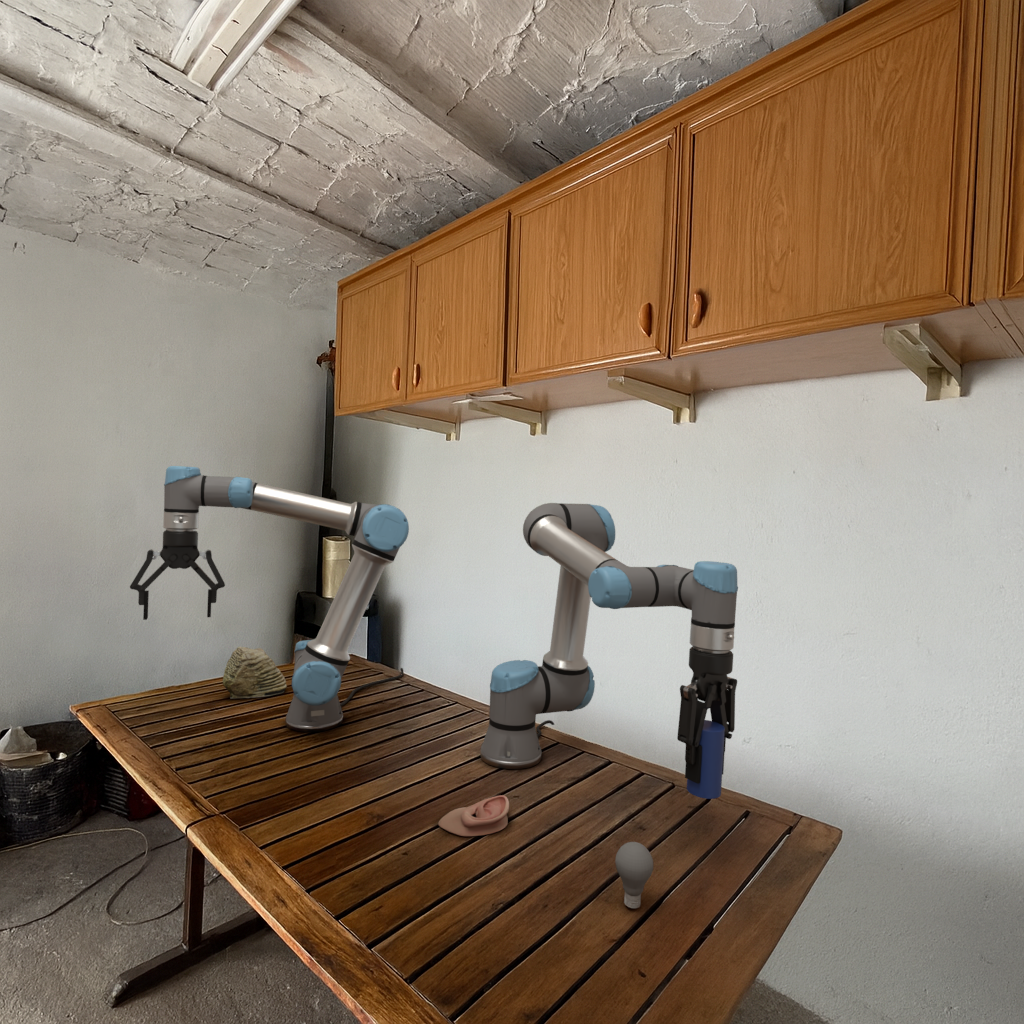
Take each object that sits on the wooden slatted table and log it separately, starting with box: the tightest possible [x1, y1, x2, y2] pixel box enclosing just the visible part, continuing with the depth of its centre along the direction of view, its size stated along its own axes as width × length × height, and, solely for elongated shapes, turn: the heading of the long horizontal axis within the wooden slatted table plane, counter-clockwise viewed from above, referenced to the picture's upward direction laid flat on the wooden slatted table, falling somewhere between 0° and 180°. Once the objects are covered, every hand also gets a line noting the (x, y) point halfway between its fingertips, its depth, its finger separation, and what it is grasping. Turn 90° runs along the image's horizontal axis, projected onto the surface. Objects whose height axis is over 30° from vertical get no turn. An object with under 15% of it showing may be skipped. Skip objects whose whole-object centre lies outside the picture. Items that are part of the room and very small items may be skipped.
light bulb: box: [614, 841, 654, 909], centre depth 101 cm, size 6×6×10 cm
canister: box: [686, 719, 725, 800], centre depth 114 cm, size 6×6×12 cm
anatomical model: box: [437, 794, 510, 837], centre depth 126 cm, size 13×4×12 cm
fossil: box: [222, 646, 288, 699], centre depth 198 cm, size 9×18×15 cm, turn 132°
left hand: (177, 617), depth 154 cm, fingers open, 13 cm apart
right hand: (704, 775), depth 114 cm, fingers closed on canister, 6 cm apart
